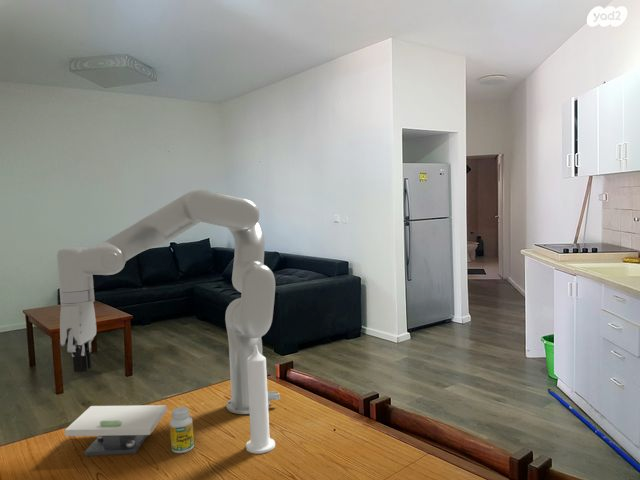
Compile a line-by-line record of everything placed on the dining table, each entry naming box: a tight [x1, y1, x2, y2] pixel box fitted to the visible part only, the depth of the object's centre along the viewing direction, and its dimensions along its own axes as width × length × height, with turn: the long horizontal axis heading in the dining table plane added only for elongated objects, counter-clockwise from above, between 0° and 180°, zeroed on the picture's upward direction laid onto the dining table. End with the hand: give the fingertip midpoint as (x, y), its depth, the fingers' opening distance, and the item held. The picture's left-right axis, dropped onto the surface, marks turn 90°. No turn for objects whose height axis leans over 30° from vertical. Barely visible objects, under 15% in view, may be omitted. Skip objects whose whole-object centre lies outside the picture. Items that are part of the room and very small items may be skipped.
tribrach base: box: [84, 435, 149, 457], centre depth 124 cm, size 12×13×4 cm
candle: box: [245, 345, 276, 455], centre depth 118 cm, size 7×7×25 cm
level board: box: [64, 404, 168, 437], centre depth 124 cm, size 20×14×3 cm
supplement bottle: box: [169, 406, 195, 454], centre depth 119 cm, size 5×5×10 cm
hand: (83, 369), depth 123 cm, fingers closed
